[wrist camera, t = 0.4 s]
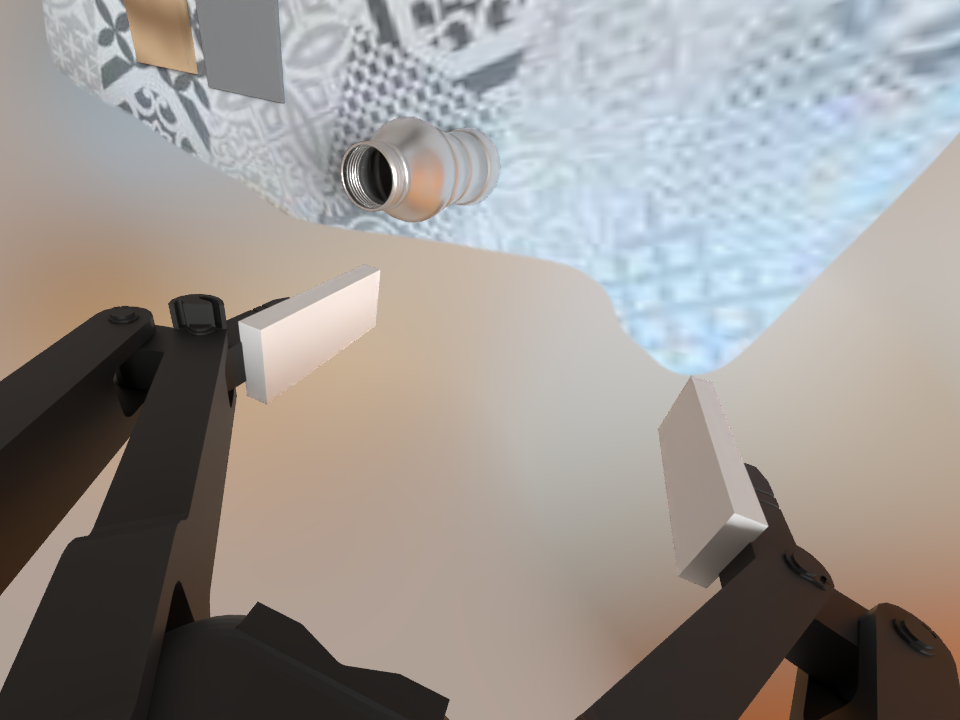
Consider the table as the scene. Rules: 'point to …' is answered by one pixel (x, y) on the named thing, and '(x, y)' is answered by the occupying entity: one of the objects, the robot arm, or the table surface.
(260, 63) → the mat
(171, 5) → the board
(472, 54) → the table surface
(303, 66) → the table surface
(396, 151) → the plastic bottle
